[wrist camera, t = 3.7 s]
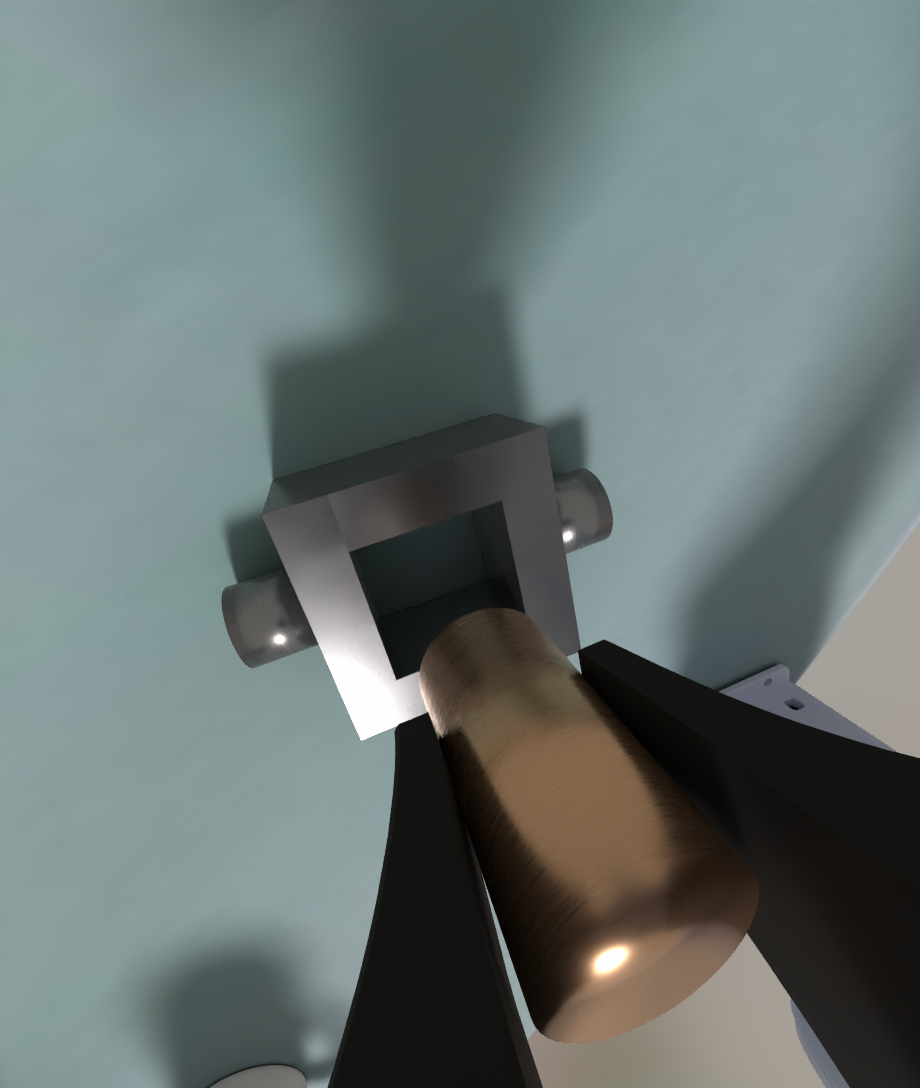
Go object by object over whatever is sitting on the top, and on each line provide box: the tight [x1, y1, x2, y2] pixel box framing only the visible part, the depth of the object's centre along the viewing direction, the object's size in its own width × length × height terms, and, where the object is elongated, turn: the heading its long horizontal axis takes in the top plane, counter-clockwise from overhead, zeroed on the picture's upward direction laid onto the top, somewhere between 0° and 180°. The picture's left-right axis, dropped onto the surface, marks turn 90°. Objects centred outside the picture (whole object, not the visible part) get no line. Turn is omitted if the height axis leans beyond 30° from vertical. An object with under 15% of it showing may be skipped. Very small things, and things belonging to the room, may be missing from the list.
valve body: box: [222, 414, 613, 740], centre depth 16 cm, size 13×8×4 cm, turn 104°
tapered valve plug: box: [419, 608, 759, 1043], centre depth 8 cm, size 3×3×6 cm
